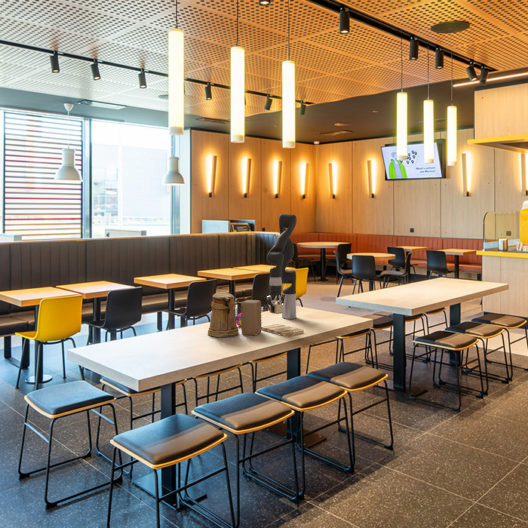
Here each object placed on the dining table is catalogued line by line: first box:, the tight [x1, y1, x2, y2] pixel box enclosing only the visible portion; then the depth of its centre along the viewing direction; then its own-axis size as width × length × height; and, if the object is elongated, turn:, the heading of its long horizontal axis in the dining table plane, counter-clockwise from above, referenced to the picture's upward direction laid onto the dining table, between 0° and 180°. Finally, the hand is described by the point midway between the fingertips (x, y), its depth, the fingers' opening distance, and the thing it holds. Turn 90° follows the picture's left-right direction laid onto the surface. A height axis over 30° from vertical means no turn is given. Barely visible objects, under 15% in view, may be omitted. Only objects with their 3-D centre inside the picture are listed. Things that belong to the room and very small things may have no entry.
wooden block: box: [240, 299, 262, 336], centre depth 327 cm, size 10×10×20 cm
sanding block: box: [269, 302, 283, 315], centre depth 335 cm, size 7×4×6 cm, turn 39°
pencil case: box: [235, 312, 241, 327], centre depth 356 cm, size 22×9×9 cm, turn 161°
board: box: [261, 323, 305, 337], centre depth 332 cm, size 24×14×2 cm, turn 39°
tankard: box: [207, 292, 239, 338], centre depth 324 cm, size 18×24×25 cm
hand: (276, 311), depth 335 cm, fingers closed on sanding block, 4 cm apart
